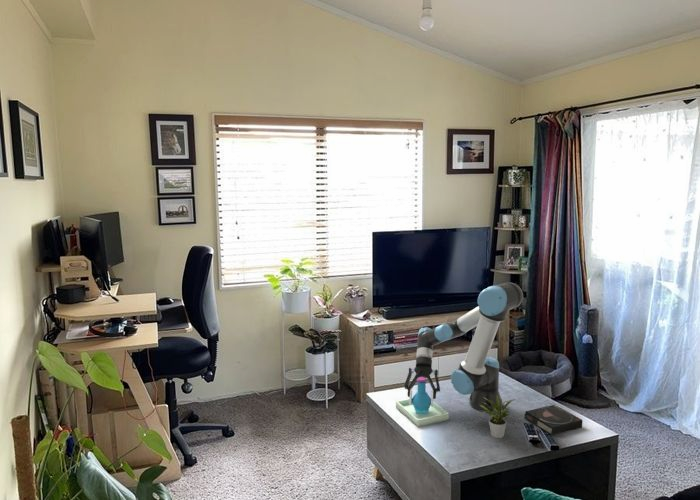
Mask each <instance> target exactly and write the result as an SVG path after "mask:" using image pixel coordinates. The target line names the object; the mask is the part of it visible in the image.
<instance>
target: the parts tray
mask: <svg viewBox="0 0 700 500" xmlns="http://www.w3.org/2000/svg"><path fill="white" fill-rule="evenodd" d="M409 399H410V398H406V399H401V400H397V401H395V408H396V409H397V410H398V411H399V412H400V413H402V414H403V416H405V417H406V418H407V419H408V420H409V421H410V422H411V423H413V424H414V425H415V426H416V427H417V428H418V427H422V426H423V427H424V426H427V425H432V424H437V423H441V422H444V421H445V422H446V421H450V413H449V412H448V411H446V410H445V409H444V408H443V407H441V406H440V405H438V404H437V403H436V402H434V401H433V407H431V405H430V408H429V411H428V412H425V413H419V412H416V411H415V408H414V406H413V404H412V403H411V405H410V404H409Z"/></svg>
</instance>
